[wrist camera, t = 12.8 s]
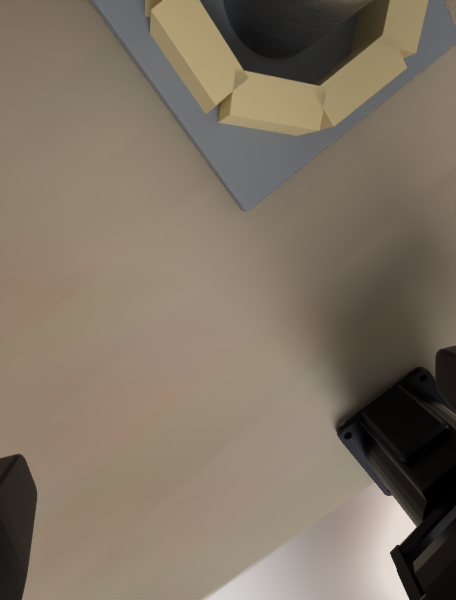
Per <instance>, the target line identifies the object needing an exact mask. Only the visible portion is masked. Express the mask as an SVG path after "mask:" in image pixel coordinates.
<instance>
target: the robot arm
mask: <svg viewBox="0 0 456 600" xmlns="http://www.w3.org/2000/svg"><path fill="white" fill-rule="evenodd" d="M422 374H423V375H422ZM421 375H422V377H421V378H420V376H421ZM347 432H349V433H348V434H347V435H345V434H346V433H347ZM337 435H338V437H339V439H340V440H341V441H342V443H343V444H344V445H345V446H346V448H347V449H348V450H349V451H350V452H351V454H352V455H353V456H354V457H355V458H356V460H357V461H358V462H359V463H360V465H361V466H362V467H363V468H364V469H365V471H366V472H367V473H368V474H369V476H370V477H371V478H372V479H373V480H374V482H375V483H376V484H377V485H378V486H379V488H380V489H381V490H382V491H383V493H384V494H385V495H387V496H391V495H393V496H394V498H395V499H396V500H397V501H398V503H399V504H400V506H401V507H402V508H403V510H404V511H405V512H406V513H407V515H408V516H409V517H410V519H411V520H412V521H413V523H414V524H415V525H416V526H417V527H416V528H415V530H414V531H413V532H412V533H411V534H410V535H409V536H408V537H407V538H406V539H405V540H404V541H403V542H402V543H401V545H397V546H396V547H395V548H394V549H393V550H392V551H391V552H390V554H391V557H392V559H393V561H394V564H395V566H396V568H397V572H398V575H399V577H400V579H401V581H402V584H403V586H404V588H405V591H406V593H407V595H408V597H409V600H456V346H451V347H447V348H443V349H440V350H439V351H437V353H436V362H435V379H434V378H433V376H432V375H431V373H430V372H429V371H428V370H426V369H425V368H423V367H418V368H416V369H415V370H413V371H412V372H411V373H409V374H408V375H407V376H406V377H404V378H403V379H402V380H400V381H399V382H398V383H397V384H395V385H394V386H393V387H391V388H390V389H389V390H387V391H386V392H385V393H384V394H382V395H381V396H380V397H378V398H377V399H376V400H375V401H373V402H372V403H371V404H369V405H368V406H367V407H365V408H364V409H363V410H362V411H360V412H359V413H358V414H356V415H355V416H354V417H353V418H351V419H350V420H349V421H347V422H346V423H345V424H343V425H342V426H341V427H340V428H339V429H338V431H337ZM344 435H345V436H344ZM36 503H37V489H36V485H35V483H34V480H33V478H32V475H31V472H30V470H29V467H28V465H27V462H26V460H25V458H24V457H23V455H21V454H15V455H11V456H7V457H3V458H0V600H22V596H23V592H24V587H25V583H26V578H27V572H28V565H29V558H30V550H31V542H32V535H33V527H34V519H35V511H36Z"/></svg>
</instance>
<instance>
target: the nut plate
mask: <svg viewBox="0 0 456 600" xmlns="http://www.w3.org/2000/svg"><path fill="white" fill-rule="evenodd" d="M89 1H90V2H91V4H92V5H93V6H94V8H95V9H96V10H97V12H98V13H99V15H100V16H101V17H102V19H103V20H104V21H105V23H106V24H107V26H108V27H109V28H110V30H111V31H112V32H113V34H114V35H115V37H116V38H117V39H118V41H119V42H120V43H121V45H122V46H123V48H124V49H125V50H126V52H127V53H128V55H129V56H130V57H131V59H132V60H133V61H134V63H135V64H136V66H137V67H138V68H139V70H140V71H141V72H142V74H143V75H144V77H145V78H146V79H147V81H148V82H149V83H150V85H151V86H152V88H153V89H154V90H155V92H156V93H157V94H158V96H159V97H160V99H161V100H162V101H163V103H164V104H165V105H166V107H167V108H168V110H169V111H170V112H171V114H172V115H173V116H174V118H175V119H176V121H177V122H178V123H179V125H180V126H181V128H182V129H183V130H184V132H185V133H186V134H187V136H188V137H189V139H190V140H191V141H192V143H193V144H194V145H195V147H196V148H197V150H198V151H199V152H200V154H201V155H202V156H203V158H204V159H205V161H206V162H207V163H208V165H209V166H210V167H211V169H212V170H213V172H214V173H215V174H216V176H217V177H218V178H219V180H220V181H221V183H222V184H223V185H224V187H225V188H226V190H227V191H228V192H229V194H230V195H231V196H232V198H233V199H234V201H235V202H236V203H237V205H238V206H239V207H240V209H241V210H242V211H245V212H247V211H248V210H250V209H251V208H252V207H253V206H255V205H256V204H257V203H258V202H259V201H261V200H262V199H263V198H264V197H266V196H267V195H268V194H269V193H271V192H272V191H273V190H274V189H276V188H277V187H278V186H279V185H281V184H282V183H283V182H284V181H286V180H287V179H288V178H289V177H291V176H292V175H293V174H294V173H296V172H297V171H298V170H299V169H301V168H302V167H303V166H304V165H306V164H307V163H308V162H309V161H311V160H312V159H313V158H314V157H316V156H317V155H318V154H319V153H320V152H322V151H323V150H324V149H325V148H327V147H328V146H329V145H330V144H332V143H333V142H334V141H335V140H337V139H338V138H339V137H340V136H342V135H343V134H344V133H345V132H347V131H348V130H349V129H350V128H352V127H353V126H354V125H355V124H357V123H358V122H359V121H360V120H362V119H363V118H364V117H365V116H367V115H368V114H369V113H370V112H372V111H373V110H374V109H375V108H377V107H378V106H379V105H380V104H381V103H383V102H384V101H385V100H386V99H388V98H389V97H390V96H391V95H393V94H394V93H395V92H396V91H398V90H399V89H400V88H401V87H403V86H404V85H405V84H406V83H408V82H409V81H410V80H411V79H413V78H414V77H415V76H416V75H418V74H419V73H420V72H421V71H423V70H424V69H425V68H426V67H428V66H429V65H430V64H431V63H433V62H434V61H435V60H436V59H438V58H439V57H440V56H441V55H442V54H444V53H445V52H446V51H447V50H449V49H450V48H451V47H452V46H454V45H455V44H456V27H455V25H454V23H453V20H452V18H451V16H450V13H449V11H448V9H447V6H446V4H445V1H444V0H373V1H371V2H370V3H368V4H367V5H366V6H364V7H363V8H362V9H360V10H359V11H357V12H356V13H355V14H353V15H352V16H351V17H349V18H348V19H346V20H345V21H344V22H342V23H341V24H339V25H338V26H337V27H335V28H334V29H333V30H331V31H330V32H328V33H327V34H326V35H324V36H323V37H322V38H320V39H319V40H317V41H316V42H315V43H313V44H312V45H310V46H309V47H308V48H306V49H305V50H304V51H302V52H300V53H299V54H297V55H294V56H291V57H288V58H282V59H274V58H268V57H264V56H262V55H259V54H257V53H255V52H254V51H252V50H251V49H249V48H248V47H247V46H246V45H244V44H243V42H242V41H241V40H240V39H239V38H238V37H237V35H236V34H235V32H234V31H233V29H232V27H231V25H230V23H229V20H228V18H227V15H226V11H225V7H224V1H223V0H89Z"/></svg>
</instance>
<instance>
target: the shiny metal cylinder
mask: <svg viewBox="0 0 456 600" xmlns="http://www.w3.org/2000/svg"><path fill="white" fill-rule="evenodd" d="M223 1H224V7H225V11H226V15H227V18H228V20H229V23H230V25H231V27H232V29H233V31H234V32H235V34H236V35H237V37H238V38H239V39H240V40H241V41H242V42H243V44H244V45H246V46H247V47H248V48H249V49H251V50H252V51H254V52H255V53H257V54H259V55H262V56H264V57H268V58H274V59H282V58H288V57H291V56H294V55H297V54H299V53H300V52H302V51H304V50H305V49H306V48H308V47H309V46H310V45H312V44H313V43H315V42H316V41H317V40H319V39H320V38H322V37H323V36H324V35H326V34H327V33H328V32H330V31H331V30H333V29H334V28H335V27H337V26H338V25H339V24H341V23H342V22H344V21H345V20H346V19H348V18H349V17H351V16H352V15H353V14H355V13H356V12H357V11H359V10H360V9H362V8H363V7H364V6H366V5H367V4H368V3H370V2H371V1H373V0H223Z"/></svg>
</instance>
